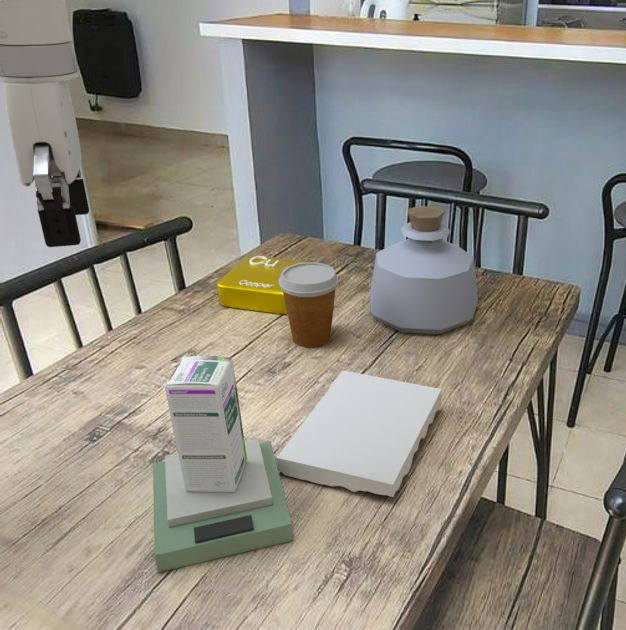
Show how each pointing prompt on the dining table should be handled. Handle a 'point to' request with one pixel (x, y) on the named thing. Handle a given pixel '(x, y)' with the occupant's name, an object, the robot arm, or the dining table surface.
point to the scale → (219, 512)
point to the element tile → (255, 284)
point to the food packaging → (361, 434)
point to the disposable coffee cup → (309, 301)
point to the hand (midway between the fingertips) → (69, 228)
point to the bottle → (424, 278)
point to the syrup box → (207, 423)
